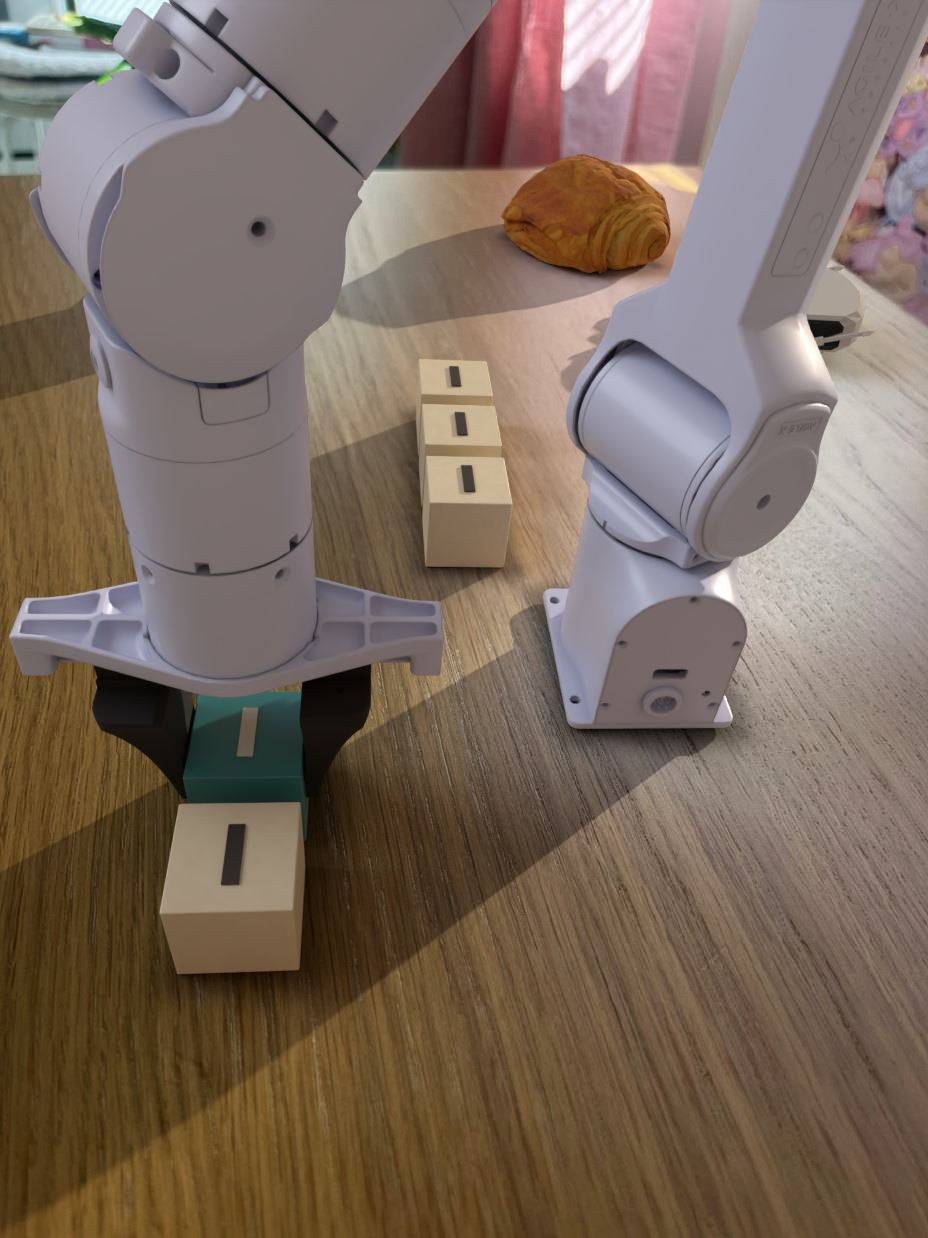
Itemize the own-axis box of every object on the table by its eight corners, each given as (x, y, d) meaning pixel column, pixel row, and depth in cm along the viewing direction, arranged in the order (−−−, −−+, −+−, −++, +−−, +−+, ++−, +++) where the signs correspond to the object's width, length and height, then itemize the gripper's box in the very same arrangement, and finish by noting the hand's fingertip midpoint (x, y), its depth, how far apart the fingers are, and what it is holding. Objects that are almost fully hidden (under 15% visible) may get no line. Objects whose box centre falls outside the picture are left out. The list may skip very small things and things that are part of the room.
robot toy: (667, 368, 72) (866, 379, 71) (676, 312, 69) (884, 323, 68) (660, 300, 81) (837, 309, 80) (668, 248, 78) (852, 257, 77)
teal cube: (306, 842, 38) (301, 775, 35) (196, 844, 38) (182, 776, 35) (311, 756, 41) (307, 688, 38) (210, 757, 41) (198, 689, 38)
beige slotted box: (299, 971, 34) (293, 908, 31) (176, 975, 34) (158, 912, 31) (305, 865, 37) (300, 799, 34) (193, 868, 37) (178, 801, 34)
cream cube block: (486, 456, 60) (493, 394, 57) (418, 455, 59) (421, 392, 56) (480, 420, 63) (486, 359, 60) (415, 418, 62) (418, 357, 59)
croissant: (581, 227, 95) (588, 140, 91) (694, 262, 85) (709, 167, 81) (467, 246, 88) (469, 154, 84) (575, 287, 78) (584, 185, 74)
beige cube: (503, 568, 52) (513, 502, 49) (425, 567, 51) (429, 501, 48) (496, 519, 55) (504, 455, 52) (422, 518, 54) (425, 453, 51)
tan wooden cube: (494, 508, 56) (502, 444, 53) (421, 507, 55) (425, 442, 52) (487, 466, 59) (495, 404, 56) (418, 465, 58) (421, 401, 55)
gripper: (443, 451, 33) (425, 704, 42) (15, 440, 31) (94, 706, 41) (456, 583, 28) (432, 838, 37) (-54, 578, 26) (55, 845, 36)
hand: (254, 778), depth 39 cm, fingers closed on teal cube, 4 cm apart
